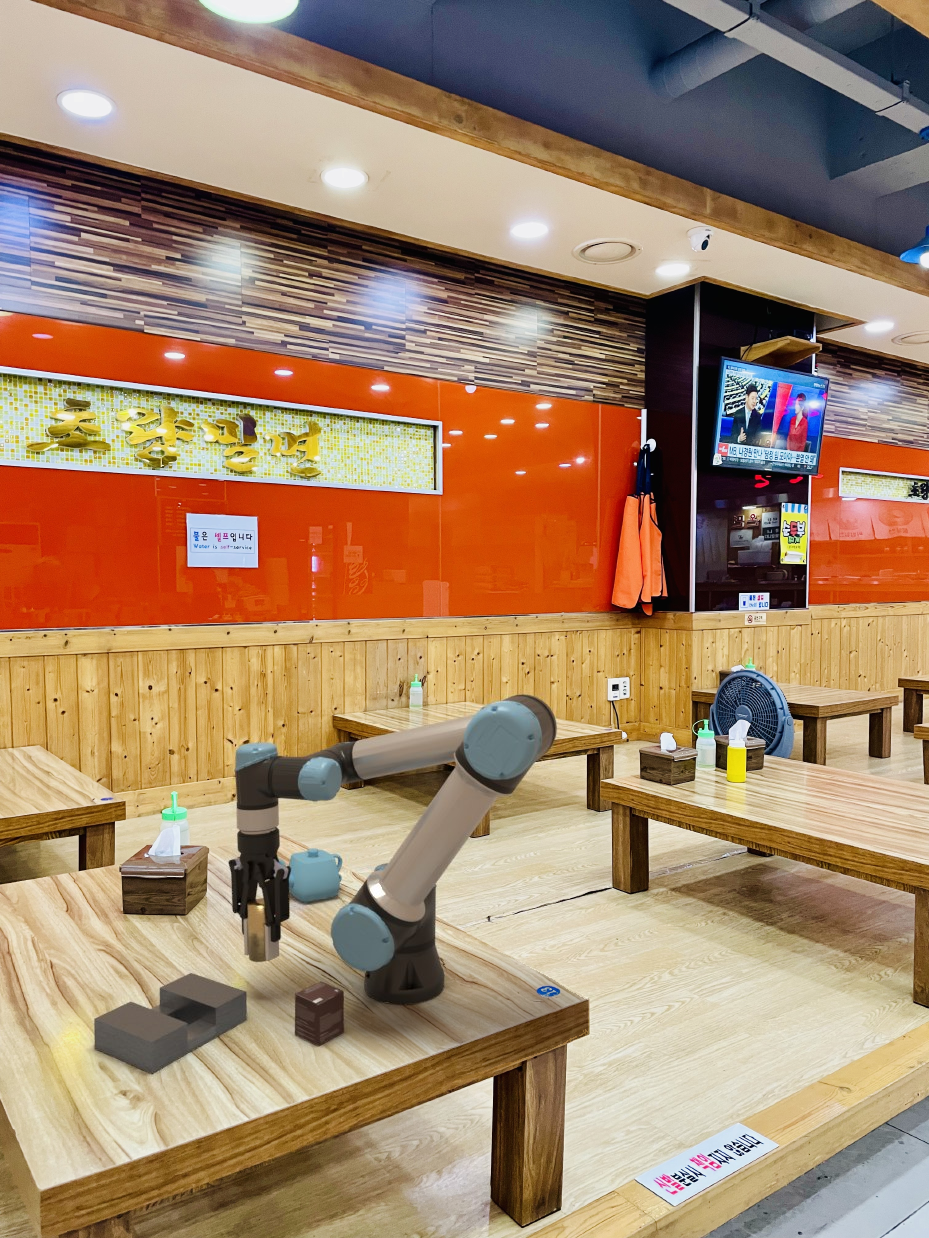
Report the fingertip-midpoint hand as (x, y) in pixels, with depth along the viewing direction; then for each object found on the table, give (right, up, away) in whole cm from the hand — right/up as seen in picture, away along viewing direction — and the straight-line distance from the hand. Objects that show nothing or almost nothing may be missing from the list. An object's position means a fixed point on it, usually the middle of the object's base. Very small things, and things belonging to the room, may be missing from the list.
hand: (261, 954), depth 159 cm
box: (+13, -9, -12) cm, 20 cm away
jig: (-12, -9, -12) cm, 19 cm away
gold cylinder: (0, 0, 0) cm, 0 cm away
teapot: (-1, -7, +53) cm, 54 cm away
